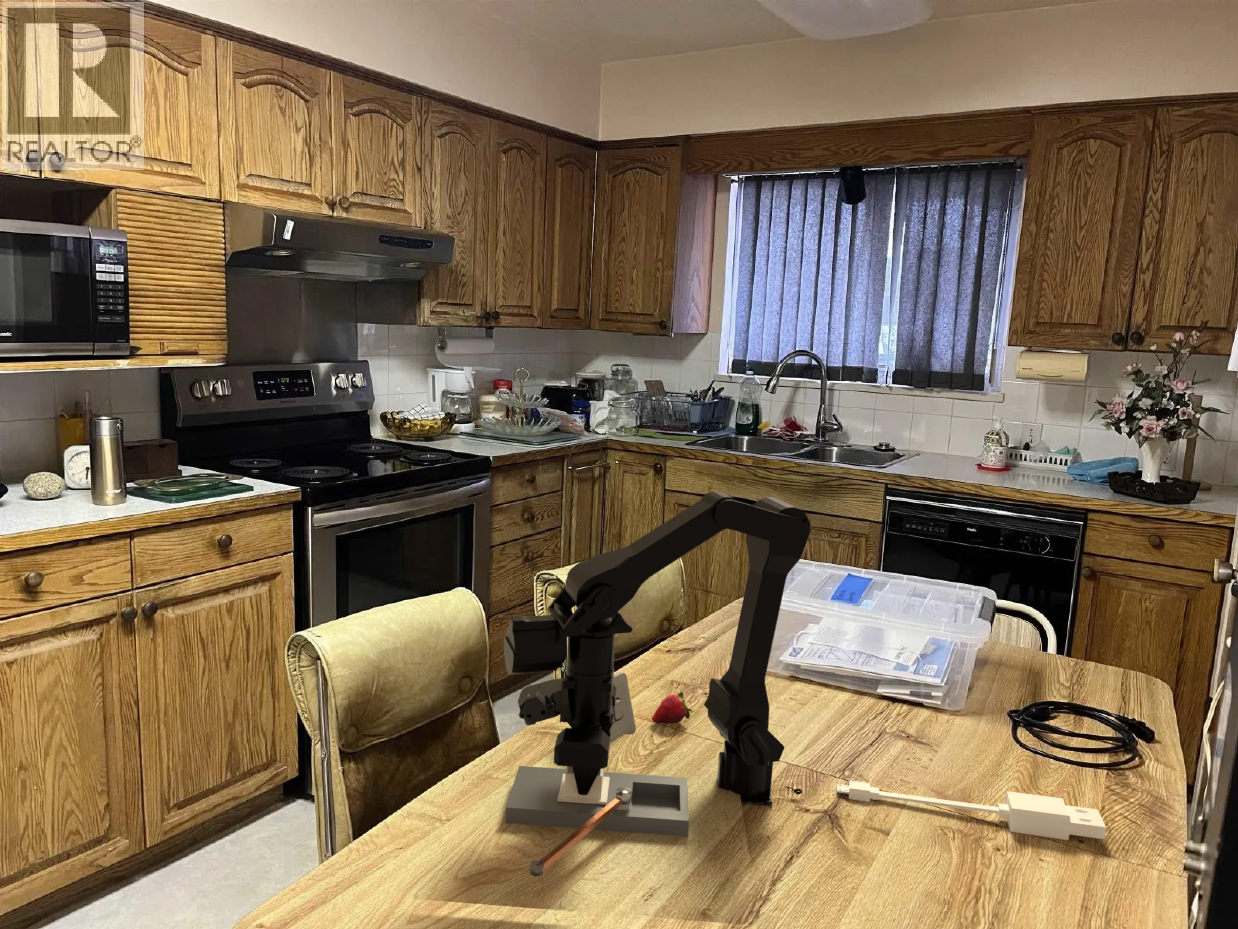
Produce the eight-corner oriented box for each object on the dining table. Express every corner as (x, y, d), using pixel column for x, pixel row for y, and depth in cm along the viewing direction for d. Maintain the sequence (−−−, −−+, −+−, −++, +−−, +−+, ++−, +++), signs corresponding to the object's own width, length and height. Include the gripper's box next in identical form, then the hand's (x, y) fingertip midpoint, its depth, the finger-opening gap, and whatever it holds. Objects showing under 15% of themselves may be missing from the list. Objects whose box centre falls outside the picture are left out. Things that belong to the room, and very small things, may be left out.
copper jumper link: (620, 794, 113) (621, 785, 112) (634, 799, 112) (635, 790, 111) (524, 873, 96) (525, 862, 96) (540, 880, 95) (540, 869, 95)
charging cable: (837, 790, 126) (838, 768, 125) (1094, 825, 118) (1097, 801, 117) (836, 809, 121) (837, 786, 120) (1105, 847, 113) (1107, 822, 112)
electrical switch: (596, 756, 129) (594, 693, 128) (569, 747, 133) (567, 685, 132) (637, 734, 137) (635, 674, 136) (610, 726, 140) (608, 667, 139)
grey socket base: (685, 799, 119) (687, 772, 119) (687, 843, 109) (689, 815, 109) (518, 787, 120) (519, 760, 120) (505, 830, 110) (506, 801, 110)
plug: (608, 794, 118) (611, 751, 116) (605, 820, 112) (608, 775, 111) (562, 791, 118) (564, 748, 117) (557, 817, 112) (558, 771, 111)
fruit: (647, 718, 142) (649, 687, 141) (684, 716, 143) (686, 686, 142) (653, 730, 138) (655, 699, 137) (692, 729, 139) (694, 698, 138)
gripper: (535, 634, 121) (531, 744, 124) (511, 694, 103) (507, 821, 105) (619, 640, 120) (613, 750, 123) (610, 701, 102) (604, 828, 105)
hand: (584, 784), depth 114 cm, fingers closed on plug, 4 cm apart
